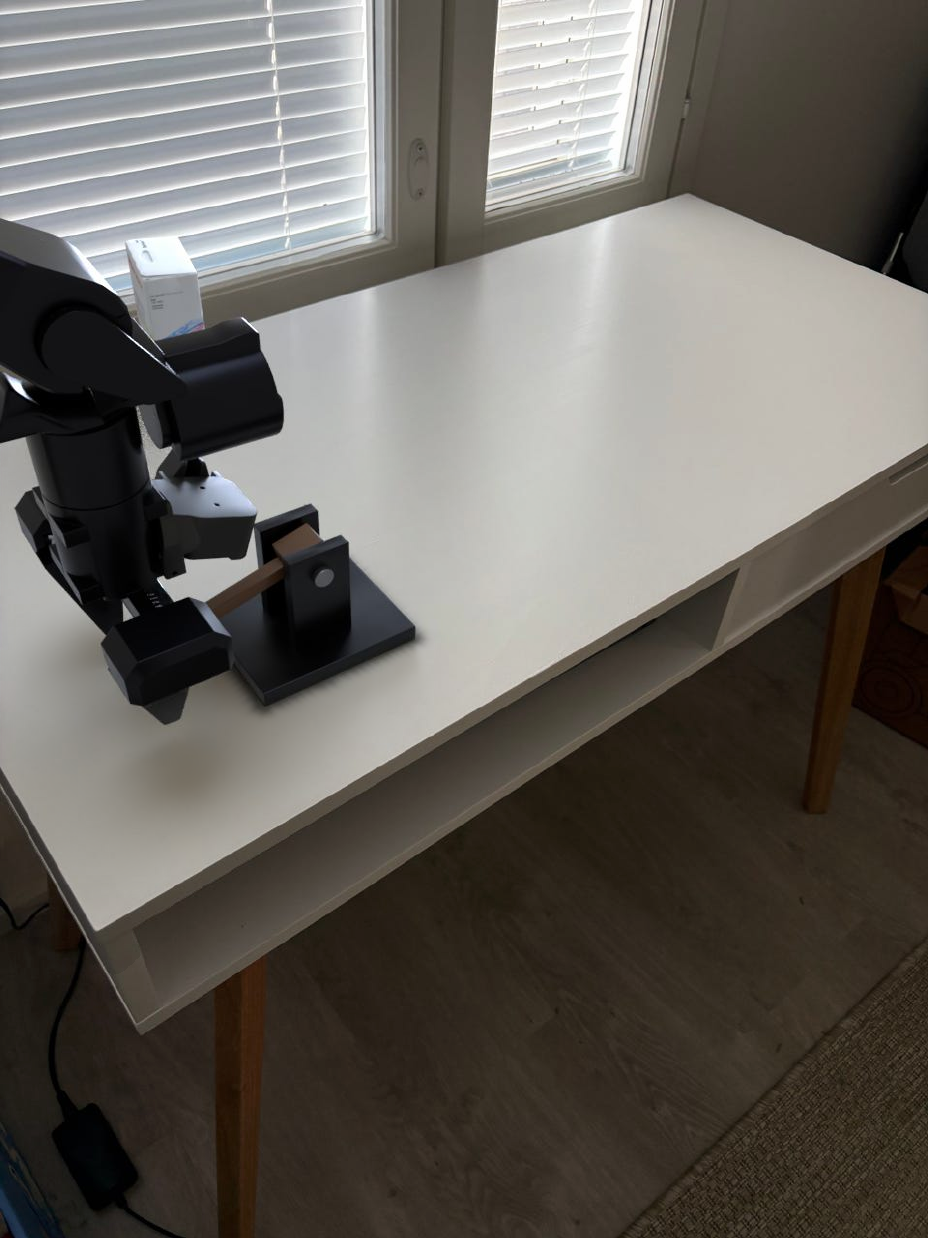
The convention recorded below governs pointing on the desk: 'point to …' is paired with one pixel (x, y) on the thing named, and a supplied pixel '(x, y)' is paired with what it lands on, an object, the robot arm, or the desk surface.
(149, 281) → the ink box
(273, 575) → the lever
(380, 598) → the bracket
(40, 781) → the desk surface
